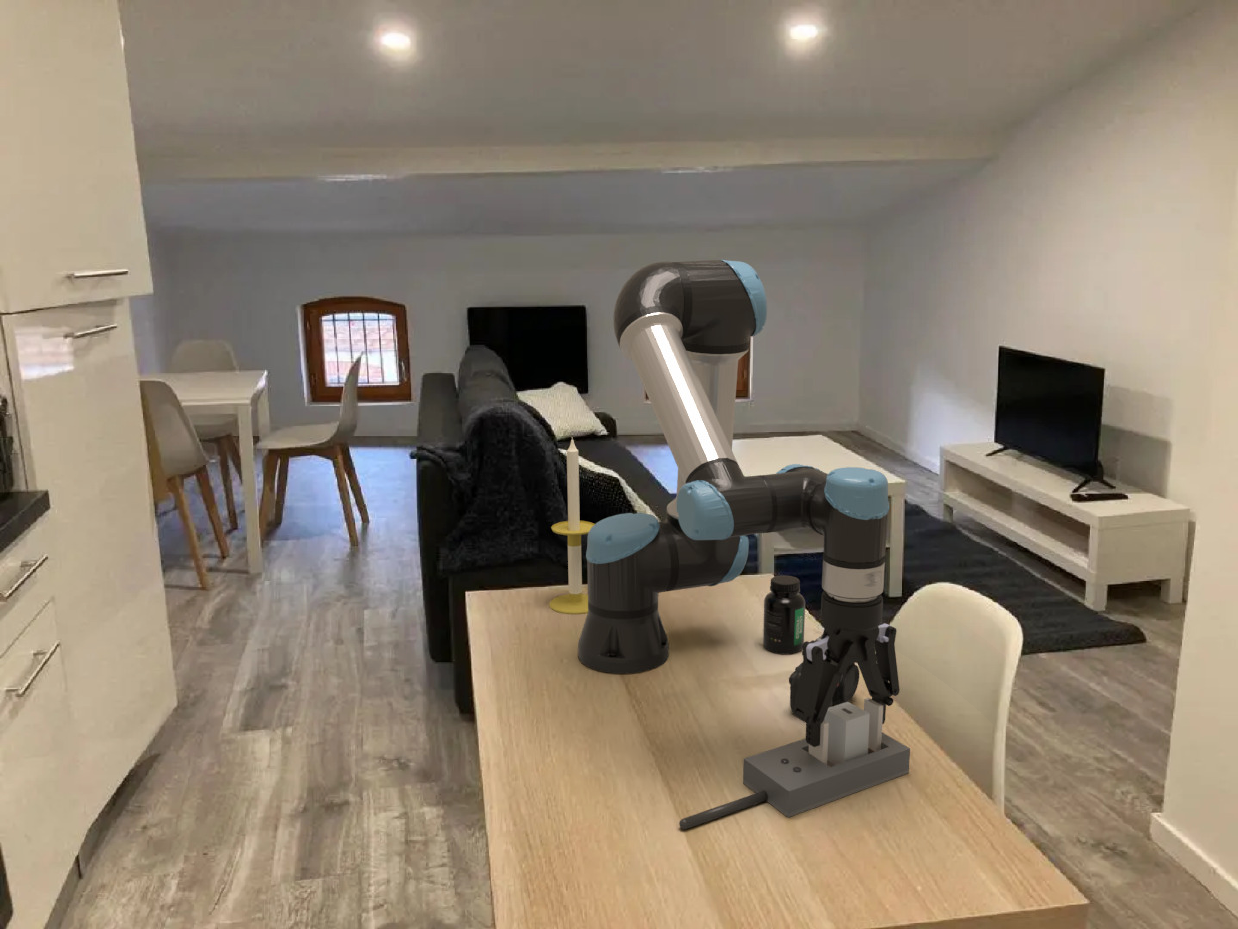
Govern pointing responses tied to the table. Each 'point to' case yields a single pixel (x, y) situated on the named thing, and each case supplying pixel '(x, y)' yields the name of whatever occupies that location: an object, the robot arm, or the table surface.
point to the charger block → (846, 733)
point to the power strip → (808, 778)
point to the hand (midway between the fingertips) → (844, 756)
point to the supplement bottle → (784, 616)
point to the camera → (843, 689)
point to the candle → (573, 542)
